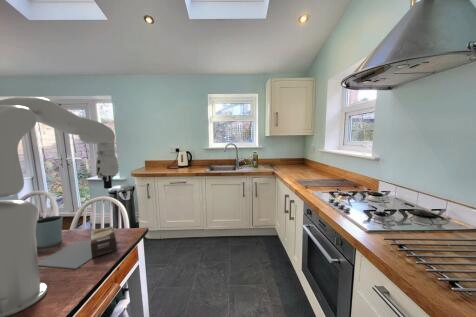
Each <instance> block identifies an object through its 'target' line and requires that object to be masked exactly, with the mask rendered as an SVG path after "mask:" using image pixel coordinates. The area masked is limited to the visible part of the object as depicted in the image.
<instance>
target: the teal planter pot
mask: <svg viewBox="0 0 476 317" xmlns="http://www.w3.org/2000/svg"><path fill="white" fill-rule="evenodd" d="M63 218H64V217H63V216H62V215H52V216H45V217H42V218H38V219H37V224H36V246H37V248H48V247H52V246H54V245H56V244H59V243H60V242H62V235H63V234H62V233H63V232H62V230H63Z"/></svg>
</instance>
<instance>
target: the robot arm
mask: <svg viewBox="0 0 476 317" xmlns="http://www.w3.org/2000/svg"><path fill="white" fill-rule="evenodd" d="M37 123H40V124H43V125H46V126H48V127H50V128H51V129H55V130H57V131H60V132H62V133H64V134H69V135H75V136H78V138H79V139H80V141H81V142H82V143H83V144H87V145H96V147H97V149H96V150H97V151H96V155H97V157H96V160H95V161H96V162H95V172H96V173H95V174H96V176H97V179H101V180H102V182H103V189H109V190H110V189H112V188H113V184H112V181H113V178H114V177H115V176H117V174H119V163H118V159H117V156H116V155H115V154H116V153H115V152H116V148H115V140H116V134H115V131H114V130H112V128H110V127H109V126H107V125H106V124H104V123H102V122H100V121H98V120H97V121H96V120H94V119H90V118H87V117H84V116H80V115H78V114H75V113H74V112H72V111H69V110H68V109H67V108H65V107H63V106H61V105H59V104H57V103H56V102H54V101H52V100H50V99H48V98H45V97H36V96H35V97H33V96H28V97H24V96H23V97H21V96H20V97H9V98H5V99H0V198H1V199H2V198H4V199H2V200H1V199H0V317H9V316H10V315H11V316H12V315H14V314H17V313H19V312H21V311H24V310H25V309H27V308H29V307H30V306H33V305H34V304H36V303H37V302H38V301H39V300H41V299H42V298H43V297H44V296H45V294H46V293H47V292H48V285H47V284H46V283H44V282H40V281H41V280H40V269H39V266H38V261H39V260H38V246H37V240H36V224H37V220H38V219H39V210H38V209H39V208H38V207H37V206H36V205H35V204H34V203H32V202H30V201H28V200H23V199H22V200H21V199H5V198H10V197H13V196H16V195H18V194H19V193H21V192H22V190H23V189H24V186H25V179H24V175H23V174H24V173H23V170H22V166H21V165H22V164H21V161H20V156H19V152H18V151H19V149H18V147H19V144H20V142H21V140H22V138H23V137H24V136H26V135H27V134H28V133H29V132H31V131H32V130H33V129H34V128H35V126H36V124H37Z"/></svg>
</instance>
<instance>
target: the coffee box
mask: <svg viewBox="0 0 476 317" xmlns="http://www.w3.org/2000/svg"><path fill="white" fill-rule="evenodd" d="M90 242H91V253H92V259H94V258H97V257H99V256H103V255H106V254H111V253H114V252H117V241H116V234H115V231H114V226H113V225H112V226H107V227H104V228H103V227H102V228H98V229H94V230H90ZM93 257H94V258H93Z"/></svg>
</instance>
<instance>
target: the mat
mask: <svg viewBox="0 0 476 317" xmlns="http://www.w3.org/2000/svg"><path fill="white" fill-rule="evenodd" d="M94 258H95V257H93V258H92V253H91V241H90V240H89V241H87V240H86V241H85V240H77V241H75V242H73V243H71V244H70V245H68V246H66V247H64V248H61V249H60V250H57V251H56V252H54V253H52V254H50V255H48V256H46V257H44V258H42V259H40V260H38V267H44V268H45V267H48V268H58V269H70V270H78V269H79V268H80V267H82V266H83V265H85V264H87V263H88V262H89V261H91V260H92V259H94Z"/></svg>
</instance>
